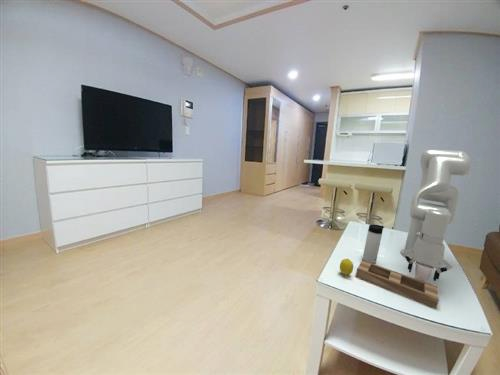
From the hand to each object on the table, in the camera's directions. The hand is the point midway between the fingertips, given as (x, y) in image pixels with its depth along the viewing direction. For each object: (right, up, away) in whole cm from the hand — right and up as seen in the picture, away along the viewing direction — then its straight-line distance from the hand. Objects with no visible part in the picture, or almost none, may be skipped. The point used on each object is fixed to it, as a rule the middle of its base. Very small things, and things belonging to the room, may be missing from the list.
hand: (421, 275), depth 94 cm
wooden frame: (-14, -4, -2) cm, 14 cm away
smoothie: (0, -4, +1) cm, 4 cm away
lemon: (-33, -1, +3) cm, 33 cm away
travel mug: (-14, 0, +17) cm, 22 cm away
